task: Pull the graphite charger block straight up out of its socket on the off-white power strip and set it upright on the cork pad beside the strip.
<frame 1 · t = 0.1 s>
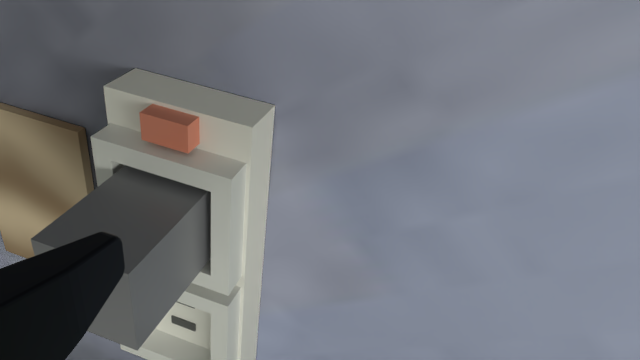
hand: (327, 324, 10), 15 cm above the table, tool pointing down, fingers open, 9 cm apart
cork pad: (44, 193, 34), on the table
power strip: (204, 235, 31), on the table
charger: (179, 203, 27), point 2 cm above the table, touching power strip
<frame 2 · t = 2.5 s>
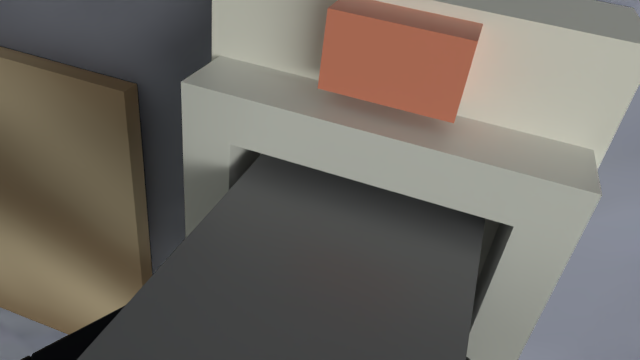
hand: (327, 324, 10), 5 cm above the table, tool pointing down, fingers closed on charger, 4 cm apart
cork pad: (52, 211, 19), on the table
power strip: (362, 293, 16), on the table
charger: (362, 243, 12), point 2 cm above the table, touching gripper, power strip
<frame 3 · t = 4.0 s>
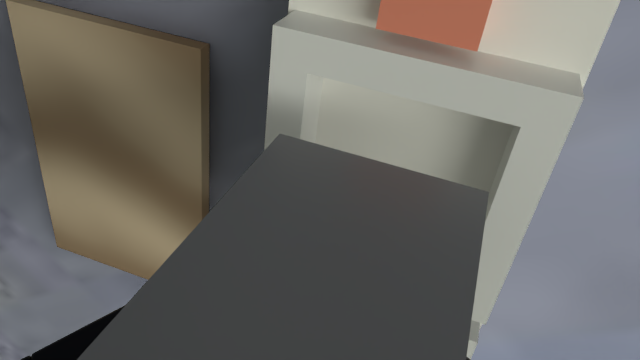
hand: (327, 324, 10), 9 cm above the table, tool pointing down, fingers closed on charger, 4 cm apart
cork pad: (124, 159, 23), on the table
power strip: (392, 221, 20), on the table
charger: (362, 243, 12), point 7 cm above the table, touching gripper
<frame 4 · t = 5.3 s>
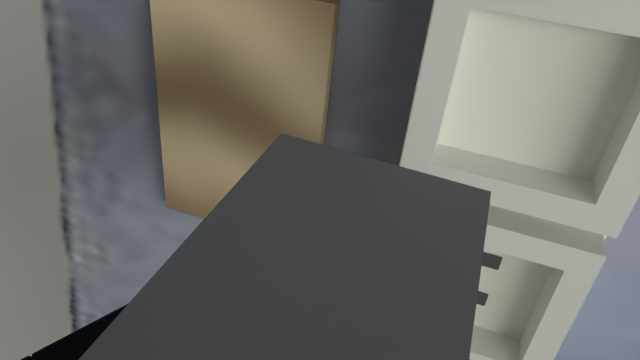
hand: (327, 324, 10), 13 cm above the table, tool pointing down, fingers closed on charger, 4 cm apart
cork pad: (241, 117, 24), on the table
power strip: (504, 161, 21), on the table
charger: (363, 243, 12), point 11 cm above the table, touching gripper
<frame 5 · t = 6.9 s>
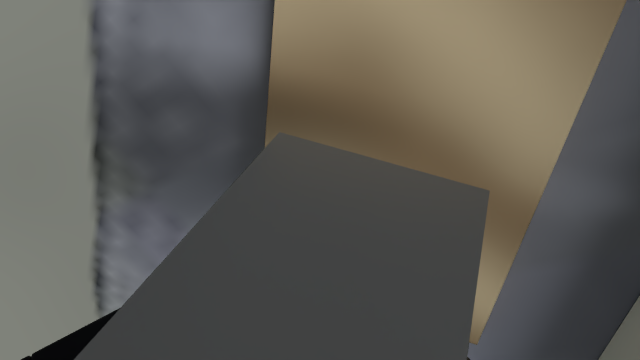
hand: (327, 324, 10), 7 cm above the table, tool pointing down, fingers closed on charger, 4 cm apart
cork pad: (399, 150, 16), on the table
charger: (362, 242, 12), point 5 cm above the table, touching gripper
when the fingers open (5 cm above the table, at t = 8.1 s): charger drops 2 cm, resting on cork pad.
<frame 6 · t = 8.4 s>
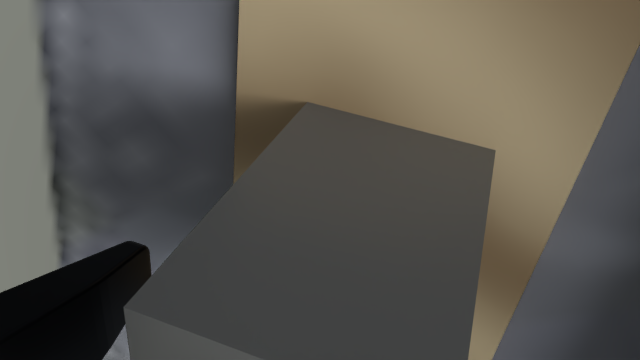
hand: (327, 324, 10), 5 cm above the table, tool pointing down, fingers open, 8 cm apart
cork pad: (384, 191, 14), on the table
charger: (380, 202, 13), point 1 cm above the table, touching cork pad
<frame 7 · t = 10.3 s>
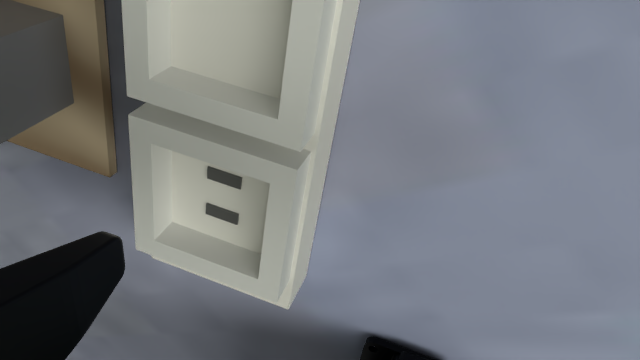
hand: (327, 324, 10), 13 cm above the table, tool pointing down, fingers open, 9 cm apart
cork pad: (38, 46, 26), on the table
power strip: (255, 92, 23), on the table
charger: (29, 49, 26), point 1 cm above the table, touching cork pad
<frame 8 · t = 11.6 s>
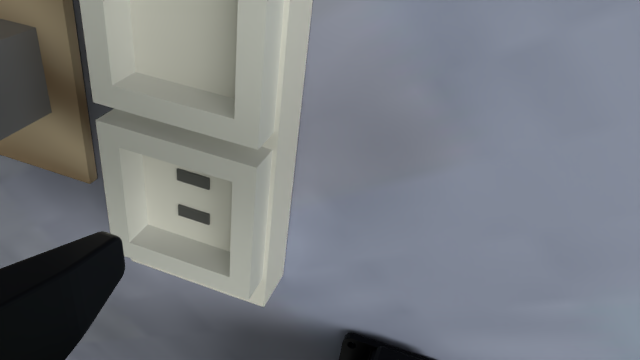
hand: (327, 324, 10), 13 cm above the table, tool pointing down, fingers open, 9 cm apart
cork pad: (16, 58, 27), on the table
power strip: (221, 95, 24), on the table
charger: (7, 61, 26), point 1 cm above the table, touching cork pad
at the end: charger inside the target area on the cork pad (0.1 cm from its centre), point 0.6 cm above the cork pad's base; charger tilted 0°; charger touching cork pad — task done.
